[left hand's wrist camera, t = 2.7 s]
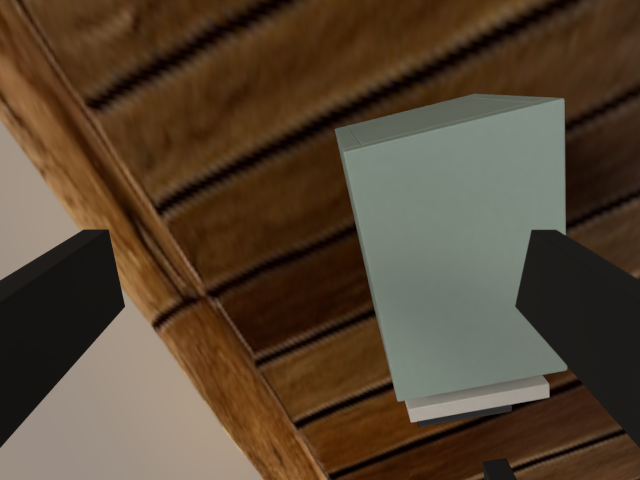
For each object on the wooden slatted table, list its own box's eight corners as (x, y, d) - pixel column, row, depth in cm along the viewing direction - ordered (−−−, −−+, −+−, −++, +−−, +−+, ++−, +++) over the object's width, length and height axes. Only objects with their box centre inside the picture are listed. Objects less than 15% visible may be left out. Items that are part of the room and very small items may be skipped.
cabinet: (492, 284, 34) (567, 370, 24) (374, 309, 35) (397, 402, 25) (475, 93, 28) (565, 97, 18) (334, 128, 29) (342, 152, 19)
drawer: (497, 373, 36) (551, 461, 28) (399, 392, 37) (423, 482, 29) (477, 155, 29) (543, 184, 20) (355, 184, 30) (369, 224, 21)
